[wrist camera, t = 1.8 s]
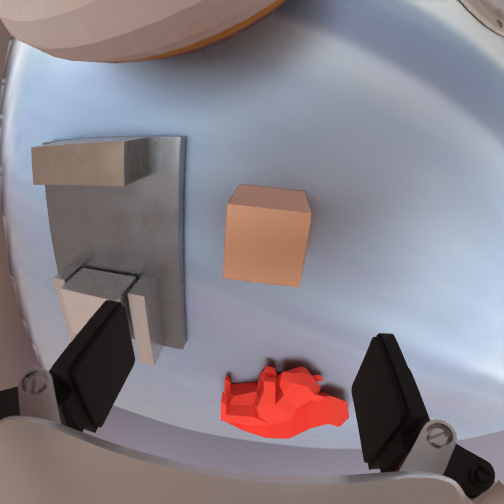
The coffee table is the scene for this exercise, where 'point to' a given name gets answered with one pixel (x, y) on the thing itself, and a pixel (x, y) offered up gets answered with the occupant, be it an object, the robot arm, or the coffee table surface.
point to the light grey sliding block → (95, 295)
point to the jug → (129, 26)
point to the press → (121, 224)
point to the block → (266, 235)
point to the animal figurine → (281, 404)
